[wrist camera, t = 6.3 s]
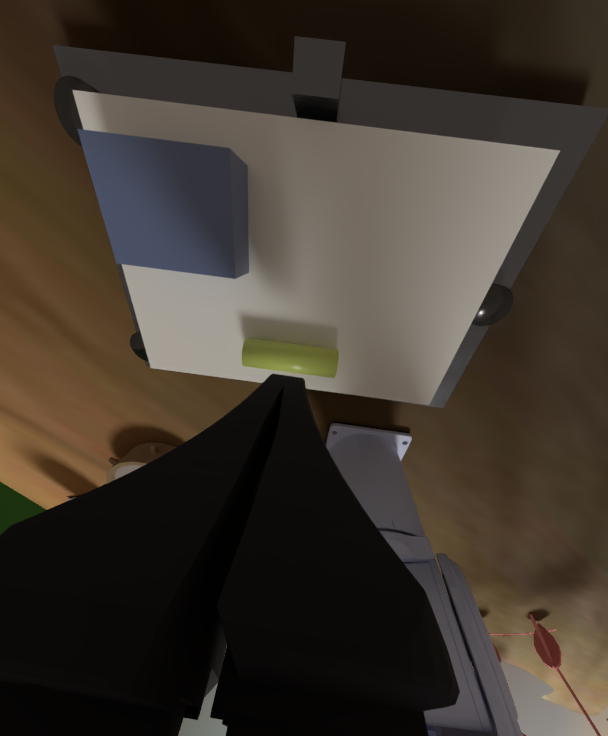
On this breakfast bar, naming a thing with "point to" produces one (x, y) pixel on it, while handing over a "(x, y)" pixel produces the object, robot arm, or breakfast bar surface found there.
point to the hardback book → (15, 507)
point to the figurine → (548, 655)
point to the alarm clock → (137, 459)
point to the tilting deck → (303, 240)
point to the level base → (356, 107)
